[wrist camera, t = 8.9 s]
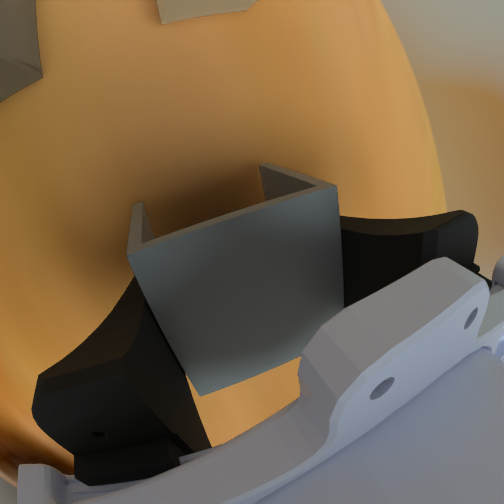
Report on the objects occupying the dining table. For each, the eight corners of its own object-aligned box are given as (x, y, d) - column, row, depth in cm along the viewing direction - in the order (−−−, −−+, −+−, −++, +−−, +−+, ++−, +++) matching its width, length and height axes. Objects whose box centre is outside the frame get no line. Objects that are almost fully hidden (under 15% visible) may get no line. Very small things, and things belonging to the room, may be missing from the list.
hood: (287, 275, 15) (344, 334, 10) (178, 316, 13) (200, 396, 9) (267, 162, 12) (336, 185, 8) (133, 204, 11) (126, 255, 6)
